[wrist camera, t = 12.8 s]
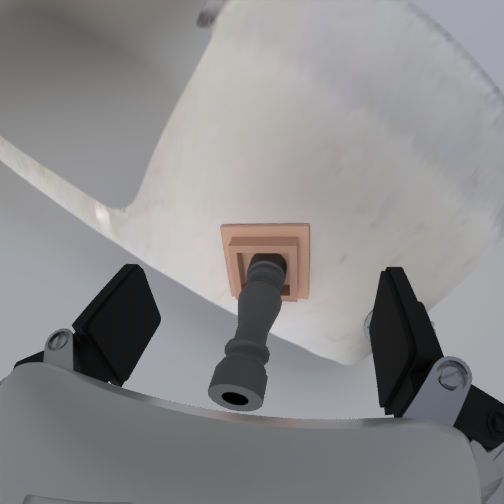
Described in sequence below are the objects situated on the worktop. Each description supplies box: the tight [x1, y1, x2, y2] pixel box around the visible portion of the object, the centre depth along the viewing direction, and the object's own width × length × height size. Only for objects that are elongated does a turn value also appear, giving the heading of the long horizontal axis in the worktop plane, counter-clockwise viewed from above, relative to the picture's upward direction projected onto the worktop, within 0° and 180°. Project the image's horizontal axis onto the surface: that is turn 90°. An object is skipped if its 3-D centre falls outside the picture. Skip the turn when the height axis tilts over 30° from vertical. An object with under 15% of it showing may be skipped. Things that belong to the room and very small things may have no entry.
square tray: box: [220, 224, 309, 302], centre depth 45 cm, size 14×14×4 cm
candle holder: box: [208, 253, 287, 411], centre depth 35 cm, size 6×6×25 cm
